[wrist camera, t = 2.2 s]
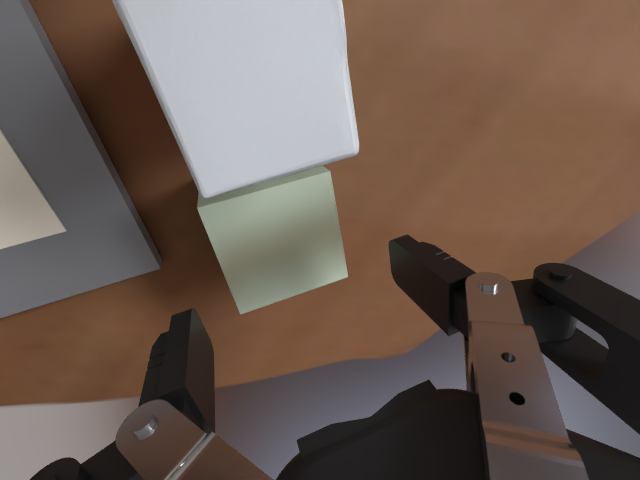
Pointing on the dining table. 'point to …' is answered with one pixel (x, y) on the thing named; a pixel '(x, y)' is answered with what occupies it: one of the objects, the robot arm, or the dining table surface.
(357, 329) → the dining table surface
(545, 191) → the dining table surface
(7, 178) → the base plate
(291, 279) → the green block
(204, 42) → the skincare box
